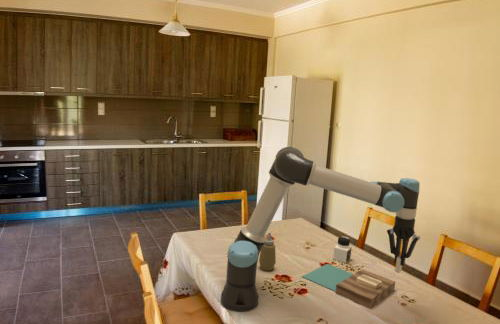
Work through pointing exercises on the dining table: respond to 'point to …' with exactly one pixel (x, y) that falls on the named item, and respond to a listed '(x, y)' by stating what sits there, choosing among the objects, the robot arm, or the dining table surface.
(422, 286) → the dining table surface
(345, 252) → the medicine bottle
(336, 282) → the mat
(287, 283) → the dining table surface
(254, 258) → the robot arm
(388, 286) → the block
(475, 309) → the dining table surface
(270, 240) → the squeeze bottle
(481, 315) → the dining table surface
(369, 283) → the tile
